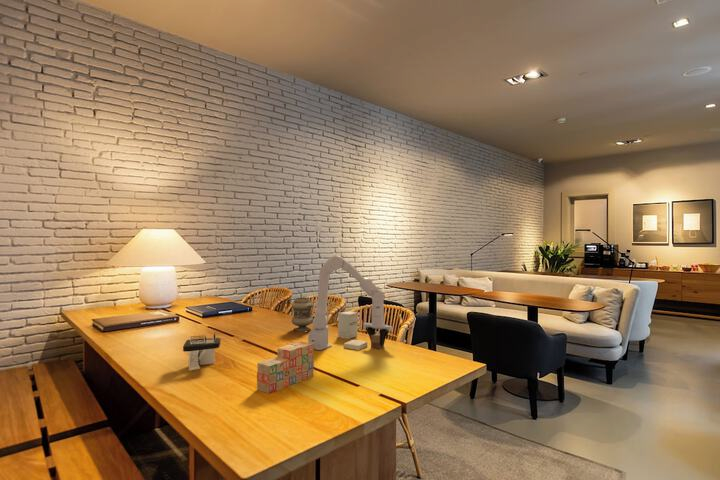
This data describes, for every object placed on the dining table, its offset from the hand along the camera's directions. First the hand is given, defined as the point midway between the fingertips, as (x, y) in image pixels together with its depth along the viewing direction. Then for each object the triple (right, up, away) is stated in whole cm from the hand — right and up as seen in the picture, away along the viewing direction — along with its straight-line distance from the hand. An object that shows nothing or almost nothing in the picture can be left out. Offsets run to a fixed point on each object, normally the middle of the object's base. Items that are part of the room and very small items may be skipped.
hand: (377, 344), depth 186 cm
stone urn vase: (-40, -1, +34) cm, 52 cm away
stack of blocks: (-34, -2, -46) cm, 58 cm away
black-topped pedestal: (-71, -2, -30) cm, 77 cm away
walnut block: (0, -1, 0) cm, 1 cm away
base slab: (-10, -1, +1) cm, 10 cm away
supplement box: (-15, -2, +20) cm, 25 cm away
